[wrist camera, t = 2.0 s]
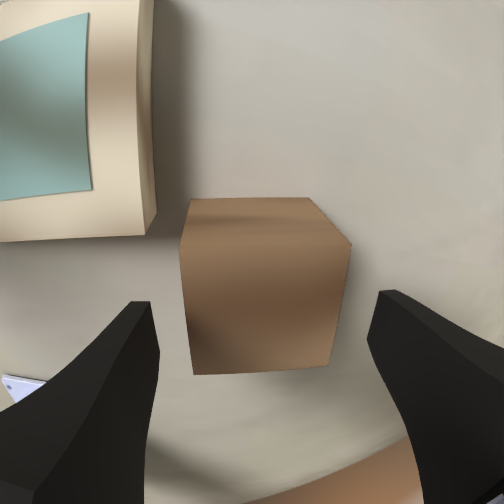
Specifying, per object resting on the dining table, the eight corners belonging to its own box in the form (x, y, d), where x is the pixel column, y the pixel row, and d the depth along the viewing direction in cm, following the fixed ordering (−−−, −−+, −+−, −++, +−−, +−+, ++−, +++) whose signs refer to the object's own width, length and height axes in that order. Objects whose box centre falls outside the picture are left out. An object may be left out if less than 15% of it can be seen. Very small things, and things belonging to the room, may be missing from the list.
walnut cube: (299, 294, 16) (328, 365, 11) (197, 299, 15) (193, 374, 11) (308, 197, 14) (351, 243, 9) (191, 198, 13) (178, 249, 9)
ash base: (156, 212, 13) (144, 235, 11) (-16, 225, 12) (-44, 246, 10) (155, -16, 9) (142, -40, 7) (-28, 41, 8) (-60, 38, 6)
